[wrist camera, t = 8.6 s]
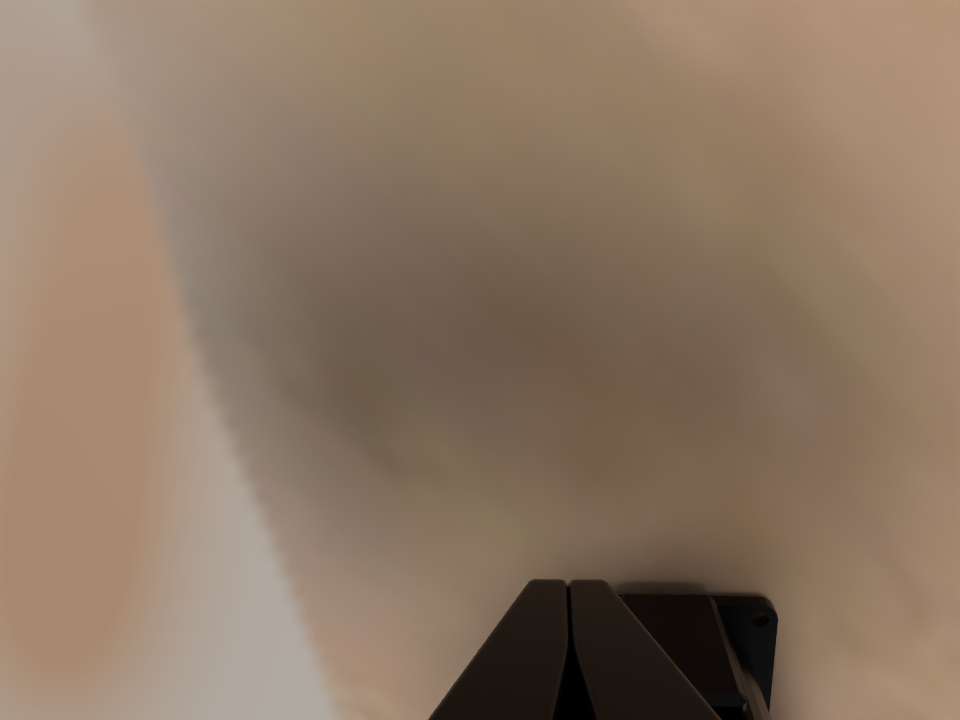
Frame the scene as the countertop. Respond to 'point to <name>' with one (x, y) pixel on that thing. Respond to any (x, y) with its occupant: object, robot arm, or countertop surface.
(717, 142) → the countertop surface
